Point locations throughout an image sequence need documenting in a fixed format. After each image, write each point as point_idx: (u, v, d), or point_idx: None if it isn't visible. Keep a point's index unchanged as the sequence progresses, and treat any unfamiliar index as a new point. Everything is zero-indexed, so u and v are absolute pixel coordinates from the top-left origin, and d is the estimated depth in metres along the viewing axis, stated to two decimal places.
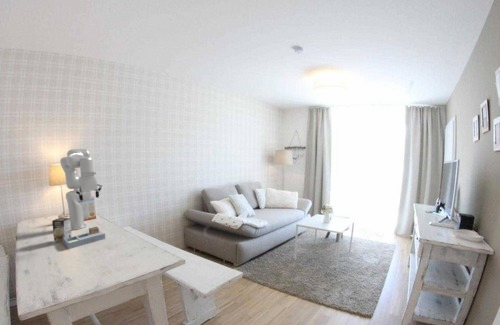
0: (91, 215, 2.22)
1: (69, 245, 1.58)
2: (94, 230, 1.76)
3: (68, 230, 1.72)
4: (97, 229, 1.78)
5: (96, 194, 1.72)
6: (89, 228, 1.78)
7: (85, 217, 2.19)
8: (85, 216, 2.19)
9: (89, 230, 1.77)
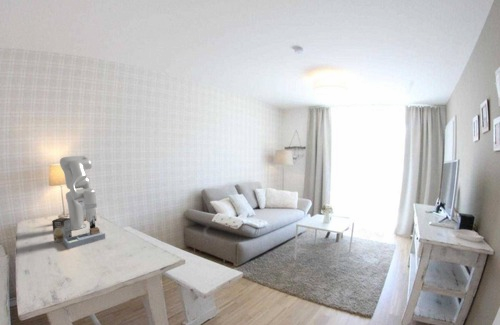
0: None
1: (69, 245, 1.58)
2: (95, 231, 1.75)
3: (68, 230, 1.72)
4: (98, 230, 1.77)
5: None
6: (90, 229, 1.77)
7: (85, 217, 2.19)
8: (85, 216, 2.19)
9: (90, 231, 1.76)
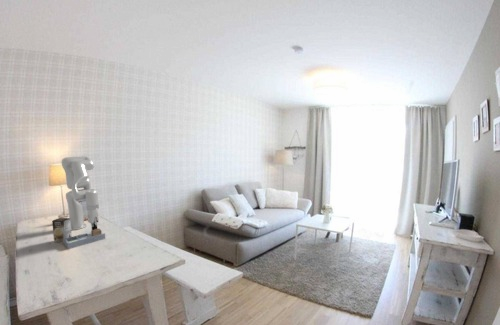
0: None
1: (69, 245, 1.58)
2: (96, 232, 1.72)
3: (68, 230, 1.72)
4: (99, 231, 1.73)
5: None
6: (91, 230, 1.73)
7: (85, 217, 2.19)
8: (85, 216, 2.19)
9: (91, 232, 1.73)
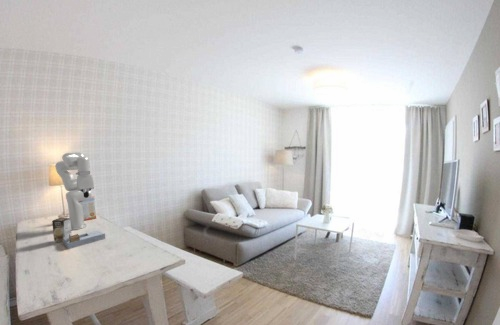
0: (91, 215, 2.22)
1: (69, 245, 1.58)
2: (74, 238, 1.62)
3: (68, 230, 1.72)
4: (78, 237, 1.64)
5: None
6: (69, 236, 1.64)
7: (85, 217, 2.19)
8: (85, 216, 2.19)
9: (69, 238, 1.63)
